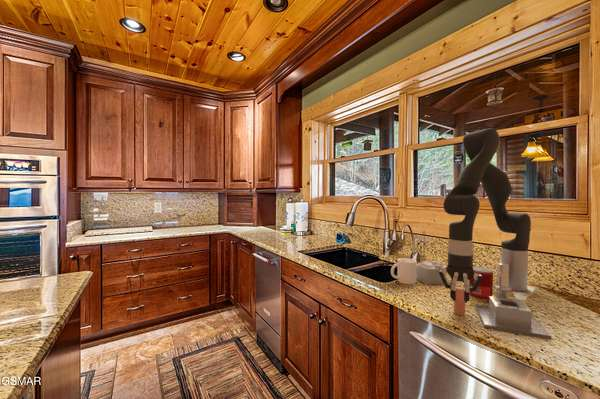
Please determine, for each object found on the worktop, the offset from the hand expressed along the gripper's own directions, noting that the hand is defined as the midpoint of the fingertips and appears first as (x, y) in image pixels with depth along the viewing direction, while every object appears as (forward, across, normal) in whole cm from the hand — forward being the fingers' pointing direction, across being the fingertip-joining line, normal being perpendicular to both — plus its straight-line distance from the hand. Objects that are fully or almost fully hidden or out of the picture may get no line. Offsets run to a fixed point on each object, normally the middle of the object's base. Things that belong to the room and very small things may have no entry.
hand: (459, 300), depth 92 cm
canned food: (+5, -10, -22) cm, 25 cm away
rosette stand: (+4, -14, -1) cm, 15 cm away
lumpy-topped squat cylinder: (+5, +7, -35) cm, 36 cm away
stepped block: (+4, 0, 0) cm, 4 cm away
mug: (+5, +20, -26) cm, 33 cm away
